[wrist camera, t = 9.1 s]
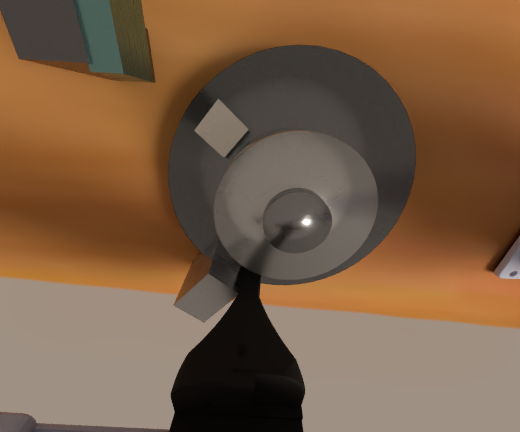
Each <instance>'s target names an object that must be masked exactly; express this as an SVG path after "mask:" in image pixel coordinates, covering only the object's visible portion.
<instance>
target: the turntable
mask: <svg viewBox="0 0 520 432" xmlns="http://www.w3.org/2000/svg"><path fill="white" fill-rule="evenodd" d="M289 127H295V128H304V129H308V130H312V131H315V132H319V133H322V134H325V135H328V136H331V137H333V138H336V139H338V140H340V141H342V142H344V143H345V144H347V145H349V146H350V147H351V148H353V149H354V150H355V151H356V152H358V153H359V155H360V156H361V157H362V158H363V159H364V160H365V162H366V163H367V165H368V166H369V168H370V169H371V172H372V174H373V176H374V179H375V182H376V186H377V192H378V208H377V213H376V218H375V221H374V224H373V227H372V229H371V231H370V233H369V235H368V237H367V238H366V240H365V241H364V243H363V244H362V245H361V247H360V248H359V249H358V250H357V251H356V252H355V253H354V254H353V255H352V256H351V257H350V258H349V259H347V260H346V261H345V262H343V263H342V264H340V265H339V266H337V267H336V268H334V269H332V270H330V271H328V272H326V273H323V274H320V275H317V276H314V277H310V278H305V279H298V280H280V279H274V278H269V277H265V276H262V275H261V283H264V284H272V285H294V284H303V283H309V282H313V281H317V280H321V279H324V278H327V277H329V276H332V275H335V274H337V273H339V272H341V271H343V270H345V269H347V268H349V267H350V266H352V265H354V264H355V263H357V262H359V261H360V260H361V259H362V258H364V257H365V256H366V255H368V254H369V253H370V252H371V251H372V250H373V249H374V248H376V247H377V246H378V245H379V244H380V243H381V242H382V240H383V239H384V238H385V237H386V236H387V235H388V233H389V232H390V231H391V229H392V228H393V226H394V225H395V223H396V222H397V220H398V219H399V217H400V215H401V213H402V211H403V209H404V207H405V205H406V202H407V200H408V197H409V195H410V191H411V187H412V183H413V179H414V172H415V164H416V153H415V141H414V135H413V129H412V126H411V123H410V120H409V117H408V114H407V112H406V110H405V108H404V106H403V104H402V102H401V100H400V98H399V97H398V95H397V94H396V93H395V91H394V90H393V89H392V87H391V86H390V85H389V83H388V82H387V81H386V80H385V79H384V78H383V77H381V76H380V75H379V74H378V73H377V72H376V71H375V70H374V69H372V68H371V67H369V66H368V65H366V64H365V63H363V62H362V61H360V60H359V59H357V58H355V57H352V56H350V55H348V54H345V53H343V52H341V51H338V50H333V49H329V48H325V47H321V46H309V45H292V46H282V47H275V48H271V49H268V50H264V51H260V52H257V53H254V54H252V55H250V56H248V57H245V58H243V59H241V60H239V61H237V62H235V63H234V64H232V65H231V66H229V67H228V68H226V69H224V70H223V71H221V72H220V73H219V74H218V75H216V76H215V77H214V78H213V79H212V80H211V81H210V82H209V83H207V84H206V85H205V86H204V87H203V89H202V90H201V91H200V92H199V93H198V95H197V96H196V97H195V98H194V99H193V101H192V102H191V104H190V105H189V107H188V108H187V110H186V112H185V113H184V115H183V117H182V119H181V121H180V123H179V126H178V128H177V130H176V133H175V135H174V139H173V143H172V147H171V150H170V158H169V166H168V176H169V189H170V195H171V200H172V204H173V207H174V210H175V213H176V216H177V218H178V220H179V222H180V225H181V226H182V228H183V230H184V231H185V233H186V235H187V236H188V238H189V239H190V240H191V241H192V243H193V244H194V245H195V247H196V248H197V249H198V250H199V251H200V252H201V253H200V254H199V255H198V256H197V257H196V258H195V259H194V260H193V262H192V264H191V266H190V269H189V271H188V273H187V276H186V278H185V280H184V282H183V285H182V287H181V289H180V291H179V294H178V296H177V298H176V301H175V303H174V306H176V307H177V308H179V309H181V310H183V311H184V312H186V313H188V314H190V315H192V316H193V317H195V318H197V319H199V320H201V321H202V322H205V321H206V320H208V319H209V318H210V317H211V316H213V315H214V314H215V313H216V312H218V311H219V310H220V309H221V308H223V307H224V306H225V305H226V304H228V303H229V302H230V301H231V300H233V299H234V298H235V297H236V296H237V295H238V293H239V270H240V267H241V266H242V265H241V264H239V263H238V262H237V261H236V260H235V259H233V257H232V256H231V255H230V254H229V253H228V252H227V250H226V249H225V247H224V246H223V244H222V242H221V240H220V239H219V236H218V233H217V230H216V227H215V221H214V202H215V197H216V193H217V189H218V187H219V185H220V182H221V180H222V178H223V176H224V174H225V172H226V171H227V169H228V167H229V165H230V163H231V162H232V160H233V158H234V157H235V156H236V154H237V153H238V152H239V151H240V149H242V148H243V147H244V146H245V145H246V144H247V143H248V142H250V141H251V140H252V139H254V138H255V137H257V136H259V135H261V134H263V133H266V132H268V131H271V130H275V129H280V128H289Z"/></svg>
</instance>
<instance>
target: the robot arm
mask: <svg viewBox="0 0 520 432" xmlns="http://www.w3.org/2000/svg"><path fill="white" fill-rule="evenodd" d="M494 274H495V275H496V276H498V277H499V278H505V279H520V236H519V237H518V239H517V240H516V241H515V243H514V244H513V246H512V247H511V248H510V250H509V251H508V253H507V254H506V255H505V257H504V258H503V260H502V261H501V262H500V264H499V265H498V266H497V268H496V269H495V271H494ZM260 283H261V275H259V274H257V273H254V272H252V271H250V270H248V269H247V268H245V267H244V266H241V267H240V270H239V293H238V295H237V296H236V298H235V300H234V301H233V303H232V305H231V306H230V308H229V309H228V310H227V312H226V313H225V314H224V316H223V317H222V318H221V320H220V321H219V322H218V323H217V324H216V326H215V327H214V328H213V329H212V330H211V331H210V332H209V333H208V334H207V336H206V337H205V338H204V339H203V340H202V341H201V342H200V343H199V344H198V345H197V346H196V347H195V348H194V349H192V350H191V351H190V352H189V353H188V355H187V356H186V358H185V360H184V362H183V364H182V365H181V368H180V369H179V372H178V374H177V377H176V379H175V382H174V385H173V388H172V391H171V400H172V403H173V407H174V411H175V414H174V417H173V420H172V424H171V427H170V430H165V429H144V428H124V427H103V426H81V425H61V424H41V423H36V420H35V419H34V418H33V417H32V416H30V415H28V414H23V413H8V412H0V432H303V427H302V418H303V415H302V407H301V404H302V402H303V398H304V395H305V386H304V382H303V378H302V375H301V372H300V369H299V366H298V364H297V361H296V359H295V358H294V356H293V355H292V354H291V352H290V351H289V350H288V348H287V347H286V346H285V344H284V343H283V341H282V340H281V338H280V337H279V335H278V333H277V332H276V330H275V328H274V327H273V325H272V323H271V322H270V320H269V318H268V316H267V314H266V312H265V310H264V307H263V305H262V303H261V300H260V298H259V295H260Z"/></svg>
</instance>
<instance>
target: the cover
mask: <svg viewBox="0 0 520 432" xmlns="http://www.w3.org/2000/svg"><path fill="white" fill-rule="evenodd" d="M377 208H378V192H377V186H376V182H375V179H374V176H373V174H372V172H371V169H370V168H369V166H368V165H367V163H366V162H365V160H364V159H363V158H362V157H361V156H360V155H359V153H358V152H356V151H355V150H354V149H353V148H351V147H350V146H349V145H347V144H345V143H344V142H342V141H340V140H338V139H336V138H333V137H331V136H328V135H325V134H322V133H319V132H315V131H312V130H308V129H304V128H295V127H289V128H280V129H275V130H271V131H268V132H266V133H263V134H261V135H259V136H257V137H255V138H254V139H252V140H251V141H250V142H248V143H247V144H246V145H245V146H244V147H243V148H242V149H240V151H239V152H238V153H237V154H236V156H235V157H234V158H233V160H232V162H231V163H230V165H229V167H228V169H227V171H226V172H225V174H224V176H223V178H222V180H221V182H220V185H219V187H218V189H217V193H216V197H215V202H214V221H215V227H216V230H217V233H218V236H219V239H220V240H221V242H222V244H223V246H224V247H225V249H226V250H227V252H228V253H229V254H230V255H231V256H232V257H233V259H235V260H236V261H237V262H238V263H239V264H241V265H242V266H244V267H245V268H247V269H248V270H250V271H252V272H254V273H257V274H259V275H262V276H265V277H269V278H274V279H280V280H298V279H305V278H310V277H314V276H317V275H320V274H323V273H326V272H328V271H330V270H332V269H334V268H336V267H337V266H339V265H340V264H342V263H343V262H345V261H346V260H347V259H349V258H350V257H351V256H352V255H353V254H354V253H355V252H356V251H357V250H358V249H359V248H360V247H361V245H362V244H363V243H364V241H365V240H366V238H367V237H368V235H369V233H370V231H371V229H372V227H373V224H374V221H375V218H376V213H377Z"/></svg>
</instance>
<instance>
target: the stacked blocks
mask: <svg viewBox="0 0 520 432" xmlns="http://www.w3.org/2000/svg"><path fill="white" fill-rule="evenodd" d="M0 10H1V13H2V15H3V18H4V21H5V23H6V26H7V29H8V31H9V34H10V37H11V39H12V42H13V44H14V47H15V50H16V52H17V55H18V58H19V59H23V60H27V61H32V62H36V63H40V64H45V65H49V66H54V67H58V68H62V69H67V70H71V71H75V72H80V73H84V74H89V75H93V76H97V77H102V78H106V79H110V80H119V81H135V82H151V83H155V77H154V70H153V64H152V57H151V50H150V43H149V36H148V30H147V29H146V28H145V23H144V17H143V10H142V3H141V0H0Z"/></svg>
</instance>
